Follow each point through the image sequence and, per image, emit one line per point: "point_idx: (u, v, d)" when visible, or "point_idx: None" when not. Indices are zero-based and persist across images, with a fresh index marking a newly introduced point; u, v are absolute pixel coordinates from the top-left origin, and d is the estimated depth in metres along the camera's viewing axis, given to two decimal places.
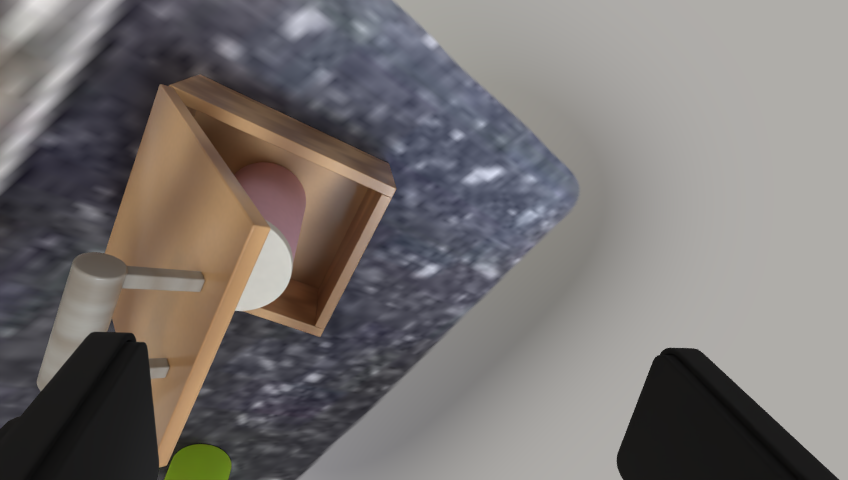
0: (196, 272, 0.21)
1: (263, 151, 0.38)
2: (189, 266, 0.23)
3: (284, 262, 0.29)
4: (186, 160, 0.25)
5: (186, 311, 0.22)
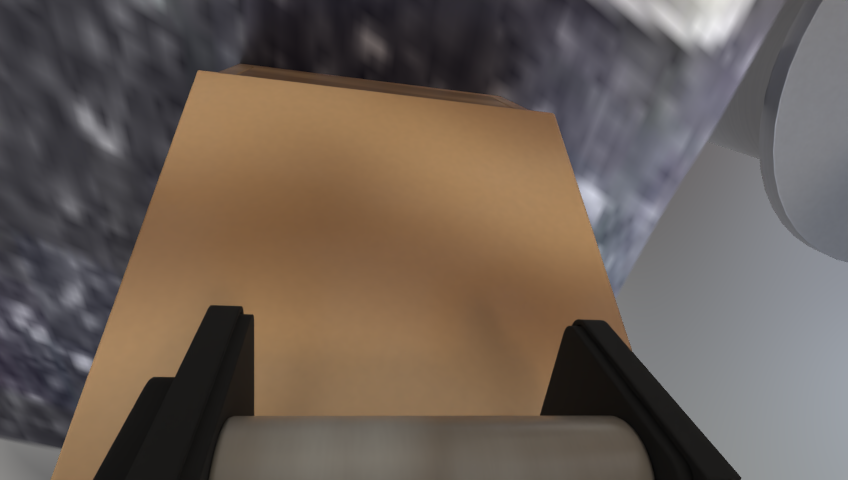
0: None
1: None
2: None
3: None
4: (571, 279, 0.15)
5: None
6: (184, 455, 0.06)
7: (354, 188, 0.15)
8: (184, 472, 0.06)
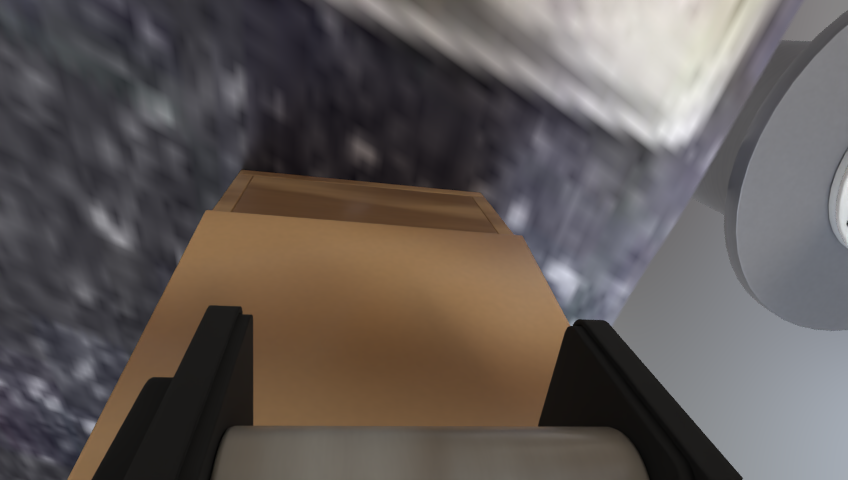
0: None
1: None
2: None
3: None
4: None
5: None
6: (182, 456, 0.06)
7: (345, 296, 0.17)
8: (182, 473, 0.05)
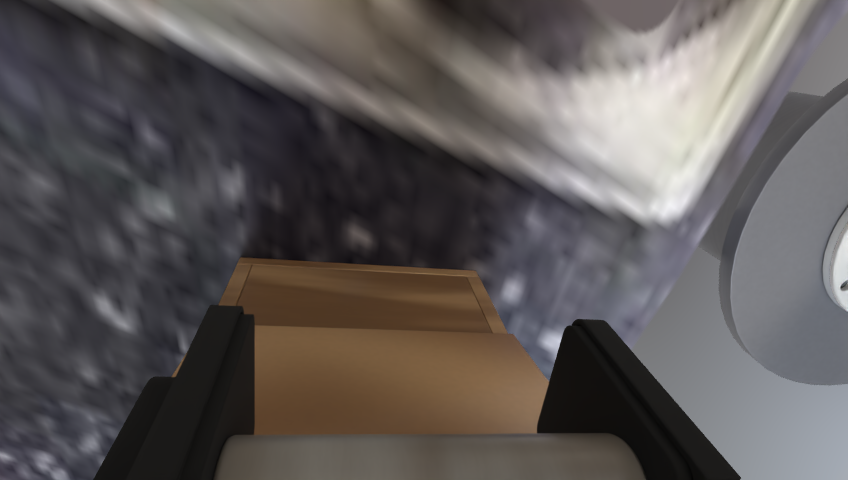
0: None
1: None
2: None
3: None
4: None
5: None
6: (185, 455, 0.06)
7: (341, 390, 0.17)
8: (185, 472, 0.06)
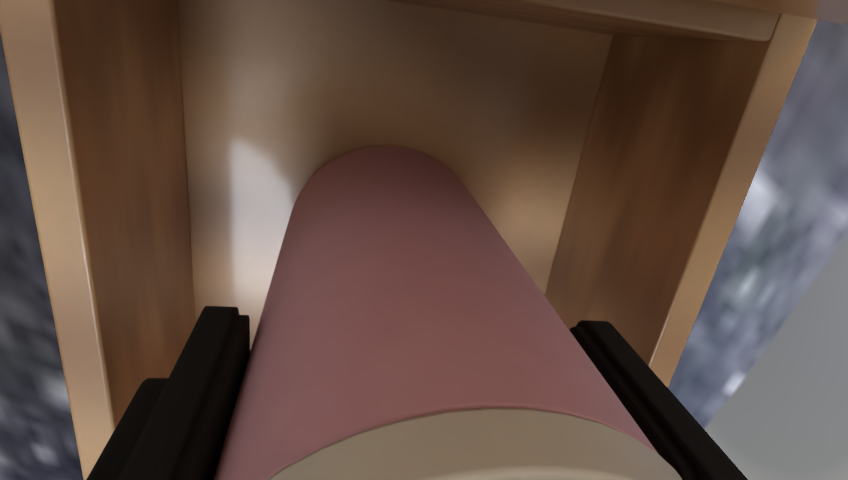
0: None
1: (499, 200, 0.16)
2: None
3: None
4: None
5: None
6: (176, 458, 0.06)
7: None
8: (176, 475, 0.05)
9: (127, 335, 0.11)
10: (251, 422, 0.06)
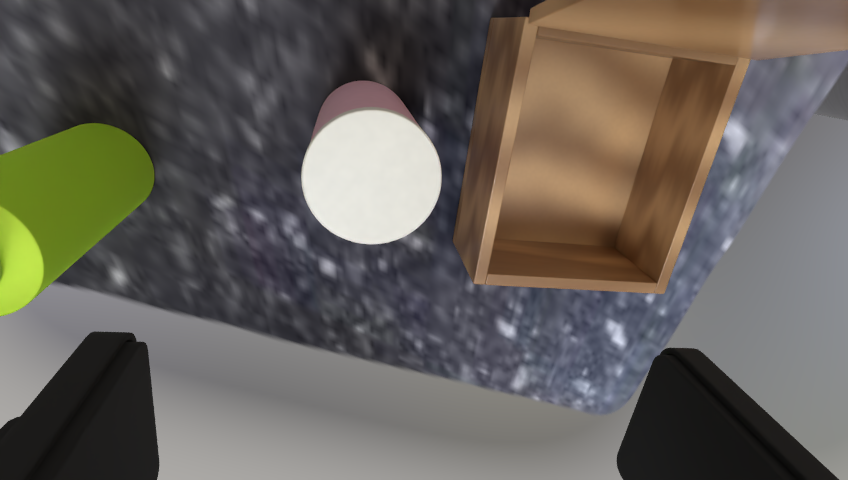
0: None
1: (617, 133, 0.35)
2: None
3: (395, 232, 0.23)
4: None
5: None
6: None
7: None
8: None
9: None
10: (320, 126, 0.23)
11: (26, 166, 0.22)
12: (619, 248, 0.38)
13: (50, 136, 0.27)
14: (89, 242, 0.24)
